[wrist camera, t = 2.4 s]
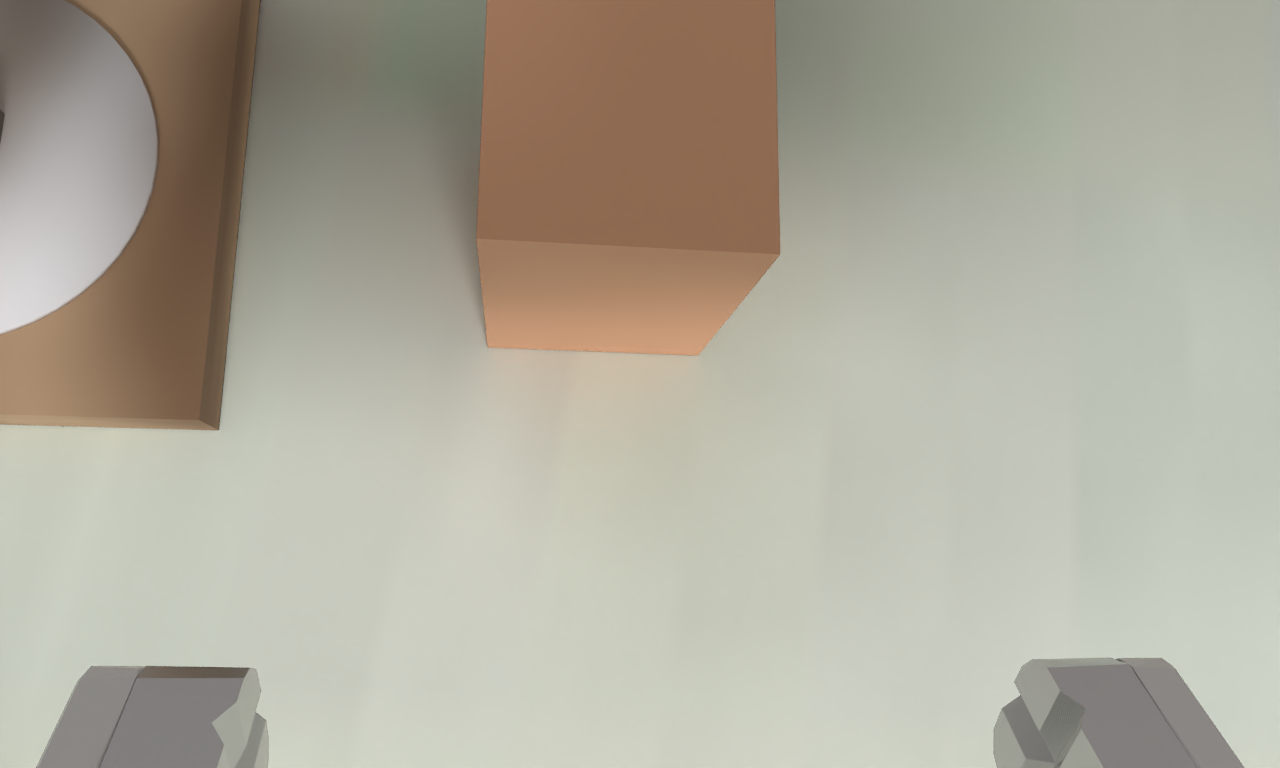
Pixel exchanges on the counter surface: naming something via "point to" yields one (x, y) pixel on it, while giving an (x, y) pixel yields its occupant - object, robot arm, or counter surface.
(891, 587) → the counter surface
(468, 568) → the counter surface
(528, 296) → the orange rectangular block
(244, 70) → the switch
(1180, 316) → the counter surface
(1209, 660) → the counter surface
